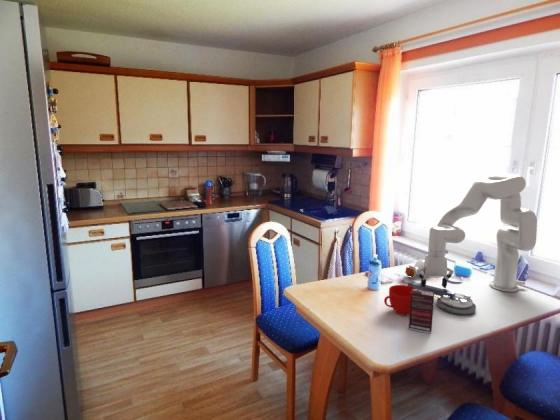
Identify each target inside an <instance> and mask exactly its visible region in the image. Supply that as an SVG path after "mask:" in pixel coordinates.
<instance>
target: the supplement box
mask: <svg viewBox="0 0 560 420" xmlns="http://www.w3.org/2000/svg"><path fill="white" fill-rule="evenodd" d="M434 301H435V294H434V292H431V291H425V290H418V289H412V291H411V299H410V315H408V318H409V319H408V330H410V331H415V332H419V333H426V334H432V329H433V318H434V317H433V316H434V304H435V302H434Z"/></svg>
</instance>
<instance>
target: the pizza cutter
mask: <svg viewBox="0 0 560 420" xmlns="http://www.w3.org/2000/svg"><path fill="white" fill-rule="evenodd" d="M407 286H411V287H414V288H416V289H418V290H425V291H431V292H434V296H438V297H441V299H440V301H441V303H442V304H444V305H446V306H448V307H451V308H455V309H470V308H471V307H472V303H474V302H473V299H472V298H471V295H470V294H469V293H463V294H461V293H457V292H456V291H454V290H452V289H447V288H441V287H437V286H432V285H429V284H426V285H424V284H421V283H419V282H417V281H415V280H410V281H408V283H407Z"/></svg>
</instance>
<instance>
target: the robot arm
mask: <svg viewBox="0 0 560 420" xmlns="http://www.w3.org/2000/svg"><path fill="white" fill-rule="evenodd" d="M526 185H527V181H526V179H525V177H523V176H522V175H518V174H509V173H503V172H494V173H491V174H490V175H489V176H488V179H485V178H484V179H482V178H481V179H477V180H476V181H475V182H474V183H473V184H472V185H471V187H470V189H469V190H468V192H466V195H465V196H464V198H463V199H462V200H461V202H460V204H458V205H457V206H454V207H453V208H452V209H450V210H449V211H447V212H445V214H444V215H443V216H442V217H441V219H440V220H439V222H438V223H437V225H436V226H432V227H430V229H429V235H428V236H429V237H428V248H427V249H428V250H427V254H426V255H425V257H424V259H425V260H424V265H423V267H422V268H420V269H418V270H416V271H417V273H418V274H417V276H419V278H420V279H421V283H420V284H424V285H427V280H426V279H427V278H428V277H429V278H430V277H431V278H432V277H435V278H439V277H441V278H442V279H441V280H442V281H441V287H443V289H447V286H448V281H449V279H450V278H451V277H452V275H453V274H454V273H455V271H454V270H453V269H451V268H449V267H448V258H447V256H446V255H447V254H448V253H449V250H447V244H449V243H450V244H460V243H462V242H463V241H465V238H466V232H465V231H464V230H463V228H460V227H458V226H454V225H455V223H456V222H458V221H459V220H460V219H463V218H467V217H471V216H475V215H477V214H479V212H480V210H481V208H482V207H483V206H484V204H485V203H486V201H487V199H490V200H493V201H494V200H496V201H497V200H500V213H499V215H500V221H501V223H502V224H504V225H507V226H502V227H500V228H499V229H498V230H497V233H496V246H497V247H496V257H495V258H496V259H495V265H494V266H495V267H494V275H493V280H491V281H489V286H490V287H491V288H493V289H494V290H497V291H501V292H502V291H503V292H507V293H510V292H511V293H514V292H518V290H519V285H520V286H524V285H526V282H525V281H524V280H523V281H522V280H519V279H517V272H518V266H519V265H518V263H519V260H520V257H519V256H520V253H519V250H520V251H523V252H529V251H532V250H533V249H534V248H535V246H536V242H537V231H538V219H537V214H536V213H535V212H534V211H532V210H531V209H528V208H524V207H522V201H521V200H522V196H521V193H522V192H523V191H524V189H525V188H526ZM422 271H423V273H424V274H423V275H421V272H422Z"/></svg>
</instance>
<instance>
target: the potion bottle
mask: <svg viewBox="0 0 560 420" xmlns="http://www.w3.org/2000/svg"><path fill="white" fill-rule="evenodd" d="M424 260H425V258H424V259H423V258H422V259H418V260H416V262H415V263H414V266H412V265H409V266H406V268H405V271H404V272H405V274H406V275H407V277H408V276H411V278H412V277H413V276H414V277H413V278H415V277H417V276H418V273H417V271H416V270H418V269H420V268H422V267H423V265H424ZM423 274H424V273H423V271H422V272H421V275H423Z"/></svg>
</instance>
